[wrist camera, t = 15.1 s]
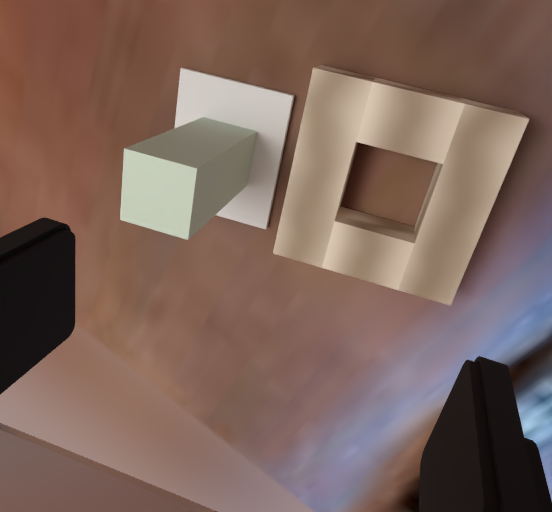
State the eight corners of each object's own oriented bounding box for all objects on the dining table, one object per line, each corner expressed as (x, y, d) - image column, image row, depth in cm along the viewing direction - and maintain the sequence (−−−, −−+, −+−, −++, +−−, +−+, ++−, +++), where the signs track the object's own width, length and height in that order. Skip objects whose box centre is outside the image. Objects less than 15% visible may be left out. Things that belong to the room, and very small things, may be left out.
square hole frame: (518, 111, 34) (529, 119, 31) (447, 284, 40) (450, 305, 37) (322, 64, 36) (313, 67, 33) (283, 237, 42) (272, 253, 39)
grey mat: (294, 95, 37) (293, 95, 37) (267, 227, 42) (265, 229, 42) (184, 67, 38) (180, 68, 38) (170, 198, 43) (167, 200, 43)
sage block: (257, 131, 38) (197, 168, 28) (247, 185, 40) (188, 240, 30) (202, 117, 39) (124, 148, 28) (196, 171, 41) (120, 219, 30)
